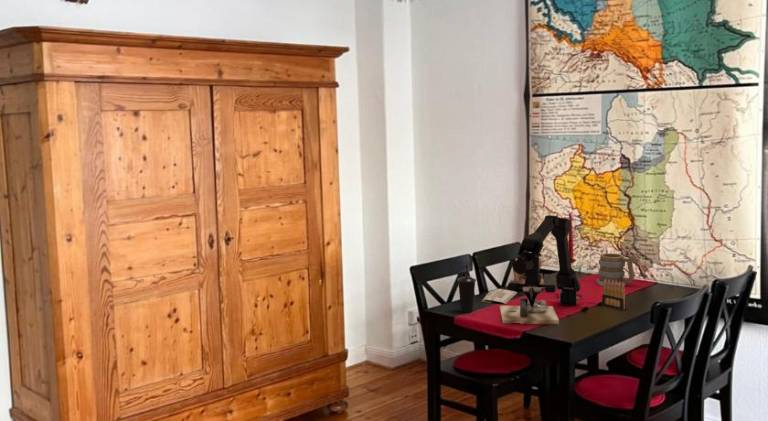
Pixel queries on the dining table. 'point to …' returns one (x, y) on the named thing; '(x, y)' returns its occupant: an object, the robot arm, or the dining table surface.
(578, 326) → the dining table surface
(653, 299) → the dining table surface
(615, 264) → the tankard
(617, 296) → the ammunition clip
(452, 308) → the dining table surface
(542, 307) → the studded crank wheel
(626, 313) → the dining table surface
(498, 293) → the newspaper
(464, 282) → the drinking cup
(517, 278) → the ceramic jug
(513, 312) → the birch board
